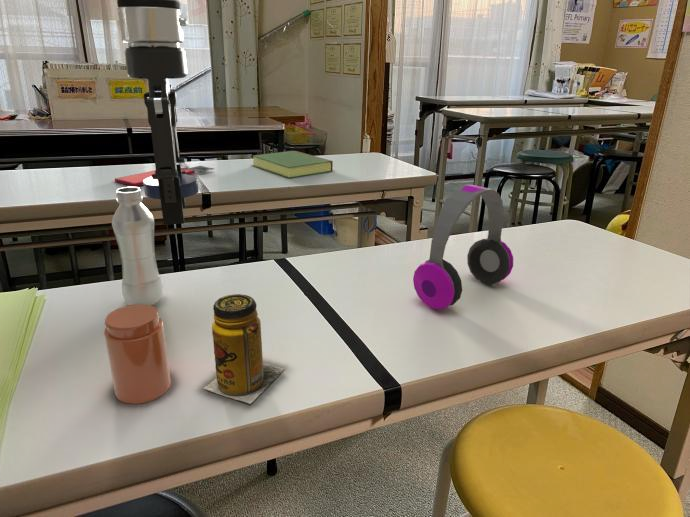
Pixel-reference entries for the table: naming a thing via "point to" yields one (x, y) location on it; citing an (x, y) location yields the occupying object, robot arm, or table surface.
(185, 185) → the lid
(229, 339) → the condiment
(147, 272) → the plastic bottle
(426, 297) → the headphones
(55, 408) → the table surface
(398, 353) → the table surface
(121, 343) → the jar
